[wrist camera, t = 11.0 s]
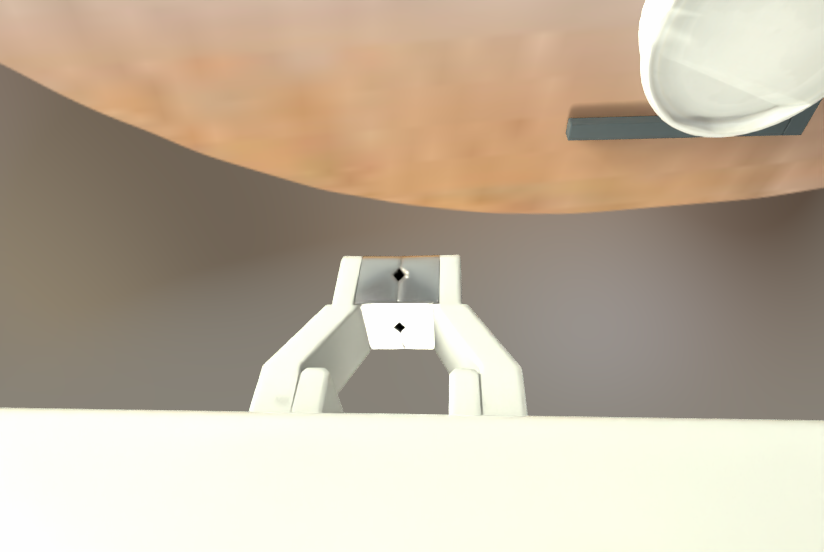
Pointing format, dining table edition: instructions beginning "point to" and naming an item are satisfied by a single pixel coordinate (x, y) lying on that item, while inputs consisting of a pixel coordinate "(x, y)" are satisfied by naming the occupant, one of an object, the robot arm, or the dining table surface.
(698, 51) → the ramekin
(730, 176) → the dining table surface
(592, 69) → the dining table surface
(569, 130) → the bay
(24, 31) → the dining table surface
